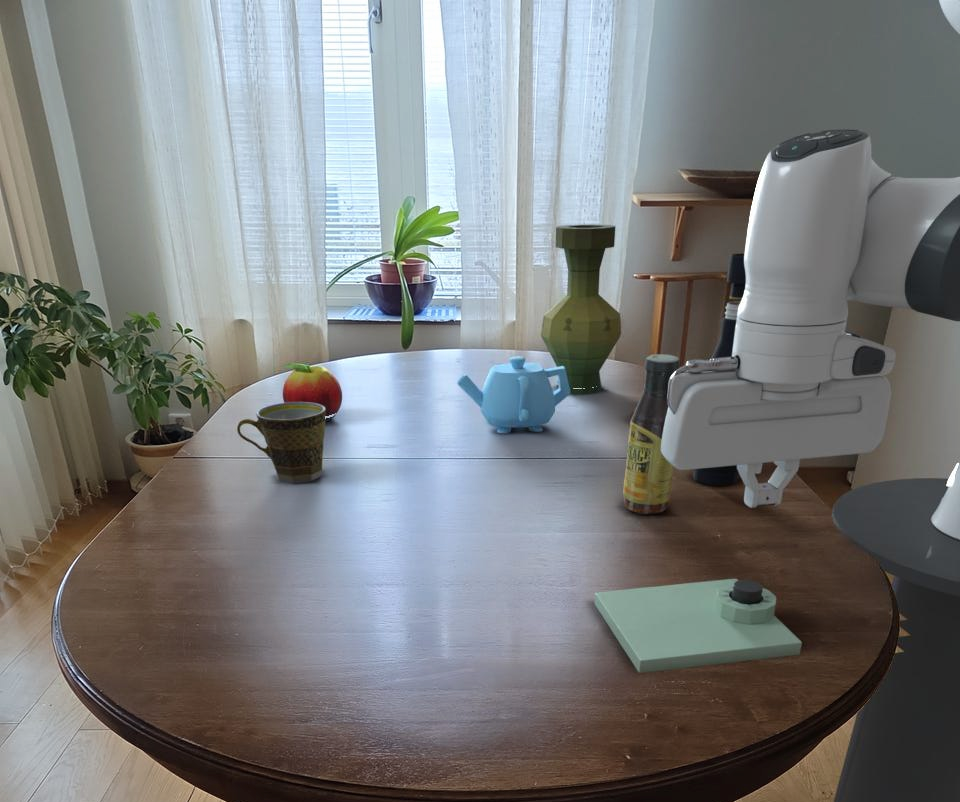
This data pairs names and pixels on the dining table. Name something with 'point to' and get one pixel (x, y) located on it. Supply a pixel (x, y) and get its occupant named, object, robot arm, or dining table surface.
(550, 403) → the teapot
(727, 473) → the navy water bottle
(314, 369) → the fruit
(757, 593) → the button
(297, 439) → the ceramic cup
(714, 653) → the green panel with knob
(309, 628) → the dining table surface
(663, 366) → the sauce bottle
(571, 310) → the vase
